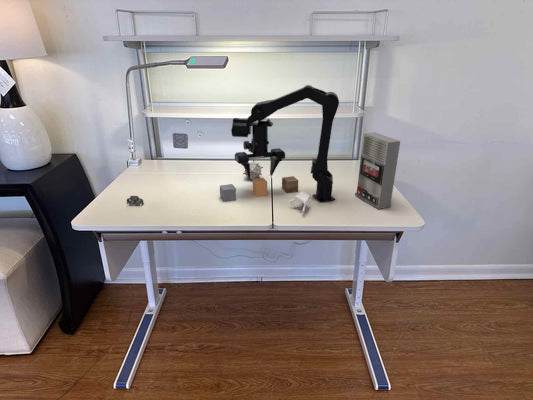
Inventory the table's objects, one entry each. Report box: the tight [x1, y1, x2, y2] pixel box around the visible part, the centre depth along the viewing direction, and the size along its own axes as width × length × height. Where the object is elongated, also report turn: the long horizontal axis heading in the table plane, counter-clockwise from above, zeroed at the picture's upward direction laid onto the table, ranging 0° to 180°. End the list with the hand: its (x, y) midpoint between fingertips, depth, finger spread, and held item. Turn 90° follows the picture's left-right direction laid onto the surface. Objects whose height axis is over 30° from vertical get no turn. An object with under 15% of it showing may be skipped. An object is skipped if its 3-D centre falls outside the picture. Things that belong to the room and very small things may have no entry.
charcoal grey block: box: [219, 183, 237, 203], centre depth 144 cm, size 5×5×5 cm
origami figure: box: [287, 190, 313, 216], centre depth 135 cm, size 12×8×5 cm
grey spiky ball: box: [242, 159, 264, 182], centre depth 163 cm, size 9×8×10 cm
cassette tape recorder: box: [354, 132, 401, 210], centre depth 138 cm, size 14×6×25 cm, turn 24°
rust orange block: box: [252, 177, 268, 198], centre depth 148 cm, size 4×4×6 cm
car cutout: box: [125, 195, 145, 208], centre depth 137 cm, size 15×7×4 cm, turn 88°
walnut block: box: [281, 175, 299, 194], centre depth 152 cm, size 5×5×5 cm
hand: (260, 176), depth 146 cm, fingers open, 9 cm apart
